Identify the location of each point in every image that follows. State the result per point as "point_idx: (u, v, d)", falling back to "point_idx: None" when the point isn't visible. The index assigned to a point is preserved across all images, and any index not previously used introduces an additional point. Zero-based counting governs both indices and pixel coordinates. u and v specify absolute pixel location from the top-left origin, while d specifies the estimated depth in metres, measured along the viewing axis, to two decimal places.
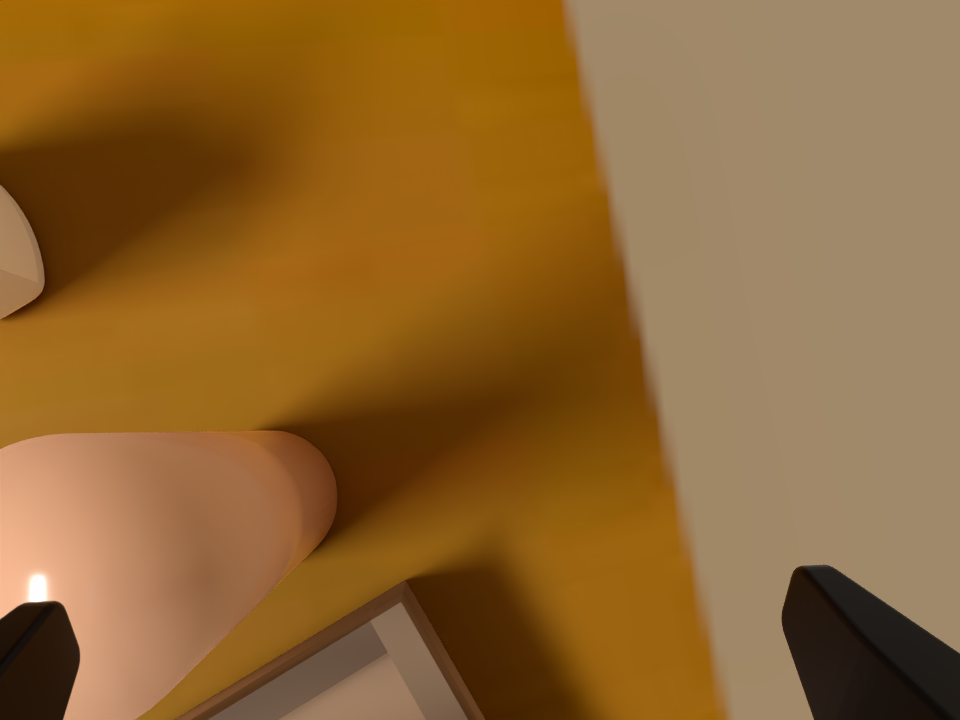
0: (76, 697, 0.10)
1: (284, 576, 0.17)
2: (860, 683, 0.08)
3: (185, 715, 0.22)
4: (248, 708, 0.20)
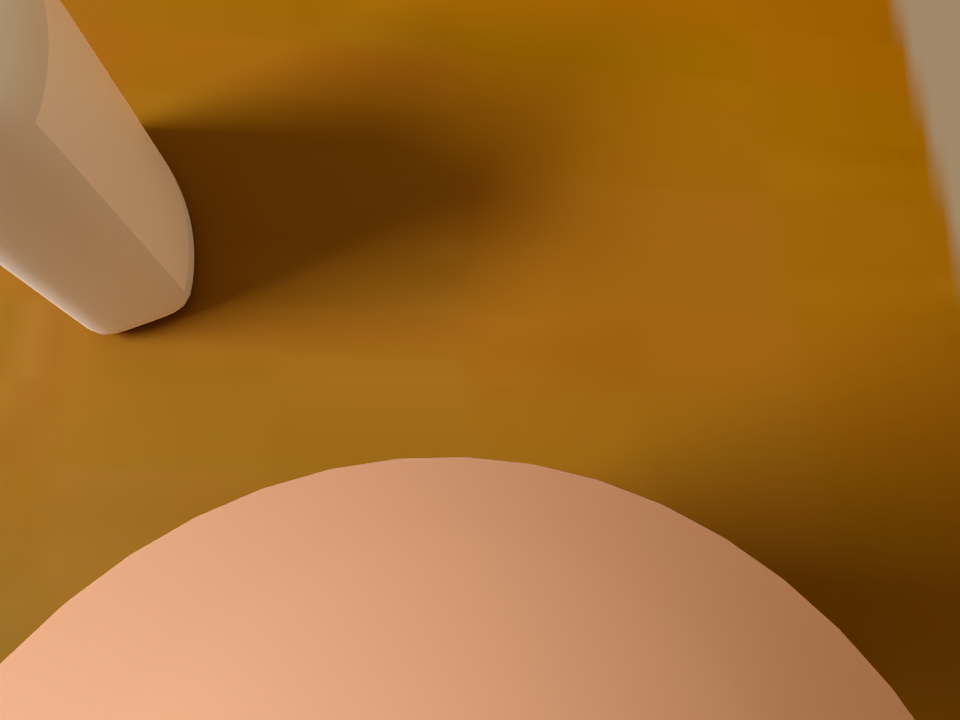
0: None
1: None
2: None
3: None
4: None
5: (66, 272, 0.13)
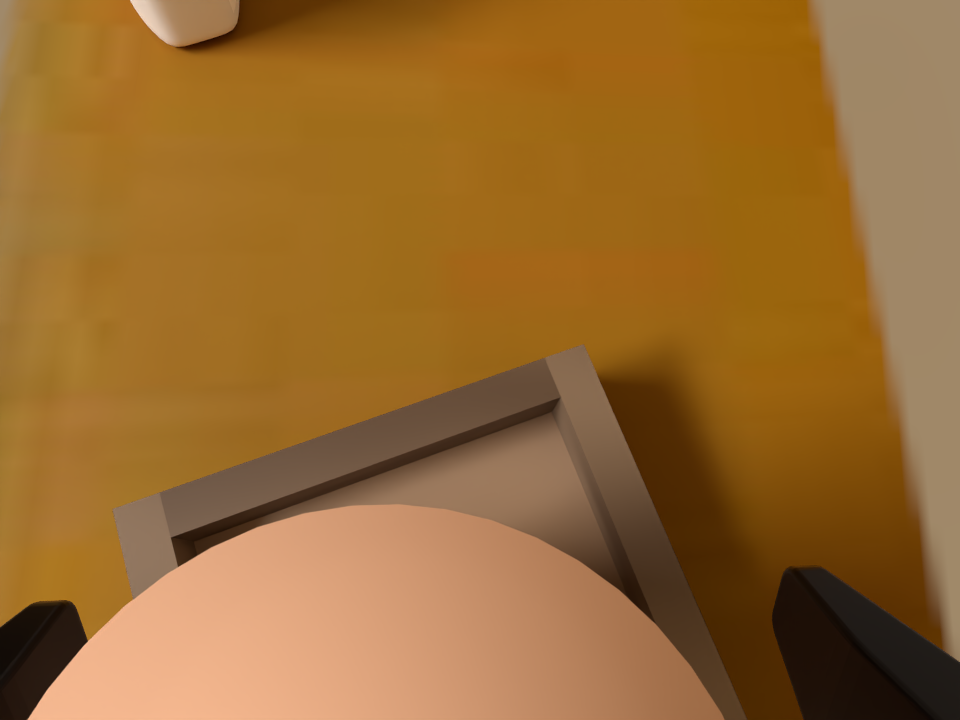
0: None
1: None
2: (849, 683, 0.08)
3: None
4: (385, 428, 0.16)
5: None
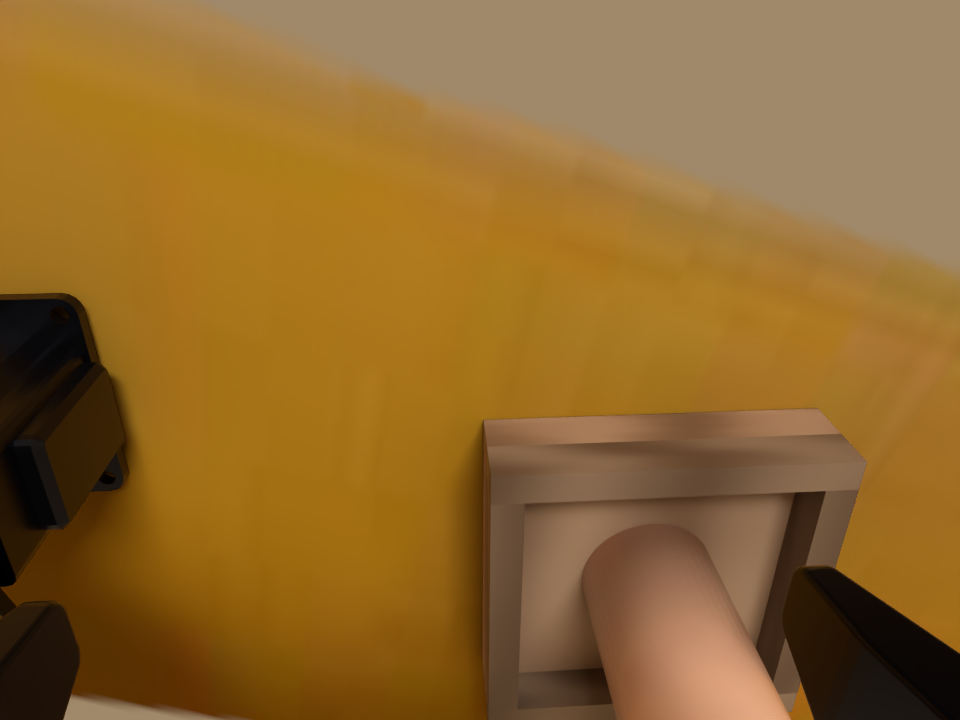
0: None
1: None
2: (860, 683, 0.08)
3: None
4: None
5: None
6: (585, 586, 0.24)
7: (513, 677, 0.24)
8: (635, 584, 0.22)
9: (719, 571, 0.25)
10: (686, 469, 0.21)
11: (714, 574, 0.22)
